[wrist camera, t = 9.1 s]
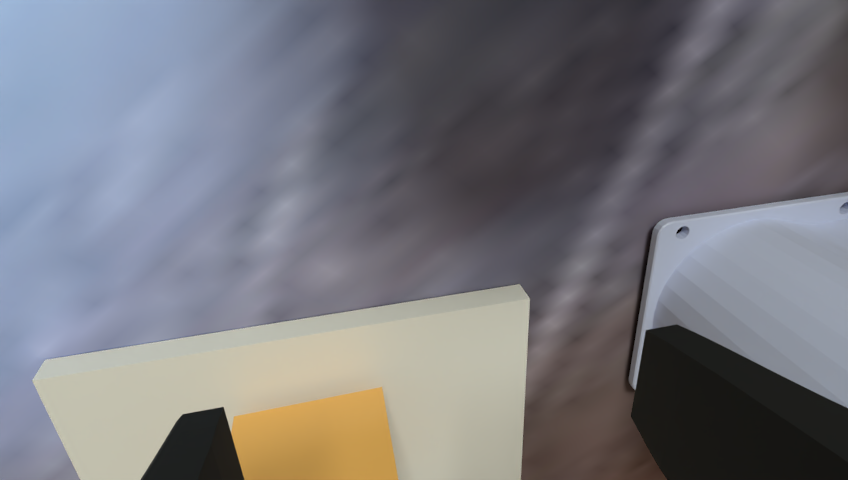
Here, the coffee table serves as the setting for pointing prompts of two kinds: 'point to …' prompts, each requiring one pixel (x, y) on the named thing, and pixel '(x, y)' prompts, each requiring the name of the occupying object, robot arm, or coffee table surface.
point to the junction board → (315, 384)
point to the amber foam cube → (318, 440)
